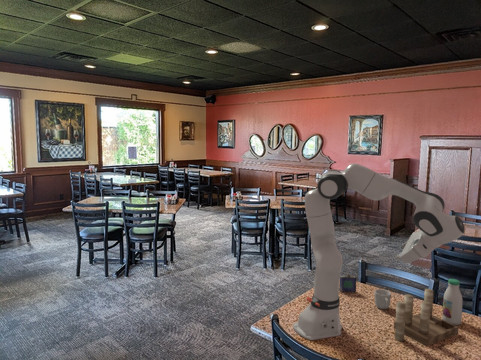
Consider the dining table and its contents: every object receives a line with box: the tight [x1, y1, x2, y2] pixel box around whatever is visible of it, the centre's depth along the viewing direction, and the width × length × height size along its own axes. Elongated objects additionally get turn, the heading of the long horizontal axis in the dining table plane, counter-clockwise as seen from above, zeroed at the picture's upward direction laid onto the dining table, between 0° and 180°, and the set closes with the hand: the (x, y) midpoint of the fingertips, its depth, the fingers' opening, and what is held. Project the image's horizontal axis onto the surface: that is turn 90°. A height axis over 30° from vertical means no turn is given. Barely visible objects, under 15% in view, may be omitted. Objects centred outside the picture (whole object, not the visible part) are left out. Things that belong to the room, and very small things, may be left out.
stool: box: [393, 288, 460, 347], centre depth 154 cm, size 22×16×16 cm
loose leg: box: [394, 300, 406, 342], centre depth 148 cm, size 4×4×16 cm
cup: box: [374, 288, 392, 310], centre depth 176 cm, size 11×8×8 cm
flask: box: [339, 272, 357, 294], centre depth 197 cm, size 9×3×11 cm, turn 84°
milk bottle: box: [441, 278, 463, 326], centre depth 163 cm, size 8×8×20 cm
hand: (399, 252), depth 154 cm, fingers open, 8 cm apart
